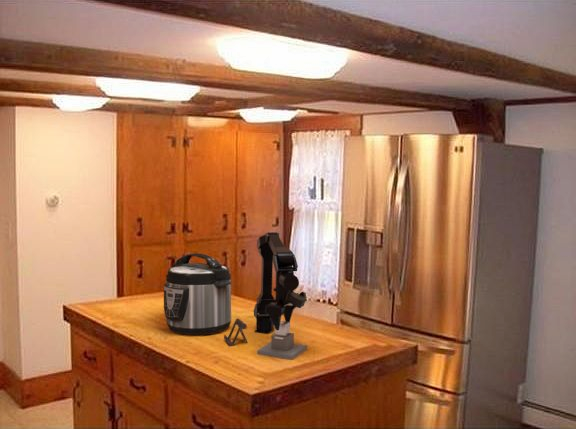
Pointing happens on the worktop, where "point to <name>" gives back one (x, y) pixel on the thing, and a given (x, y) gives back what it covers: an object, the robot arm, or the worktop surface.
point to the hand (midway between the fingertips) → (282, 326)
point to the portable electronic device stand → (241, 326)
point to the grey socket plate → (282, 347)
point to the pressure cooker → (197, 296)
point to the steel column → (283, 329)
